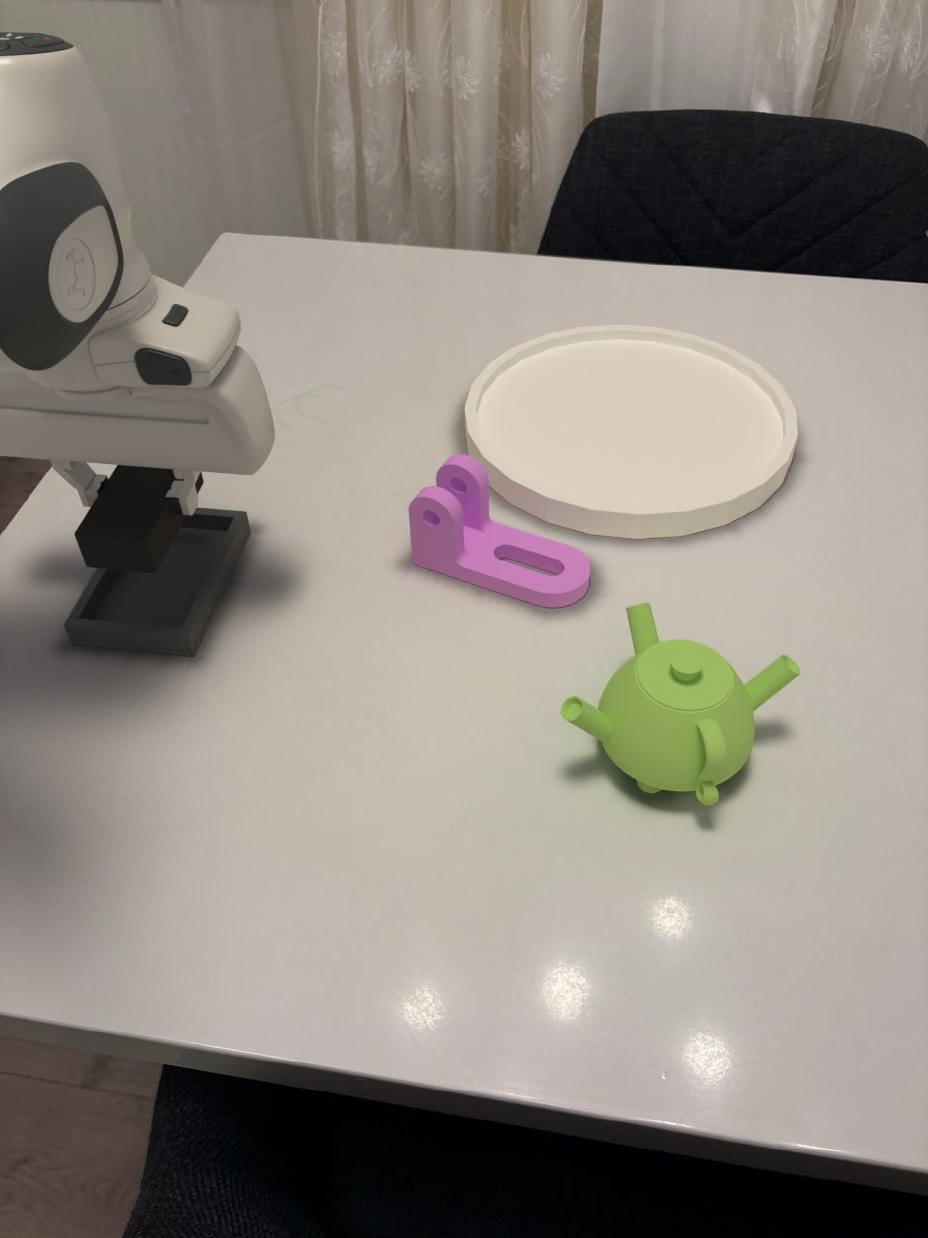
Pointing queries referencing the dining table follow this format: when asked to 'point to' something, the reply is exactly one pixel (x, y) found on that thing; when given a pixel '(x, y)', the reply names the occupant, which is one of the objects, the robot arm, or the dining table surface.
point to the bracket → (488, 541)
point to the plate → (630, 431)
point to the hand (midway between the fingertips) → (142, 505)
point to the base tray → (163, 591)
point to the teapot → (677, 712)
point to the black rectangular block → (131, 521)
